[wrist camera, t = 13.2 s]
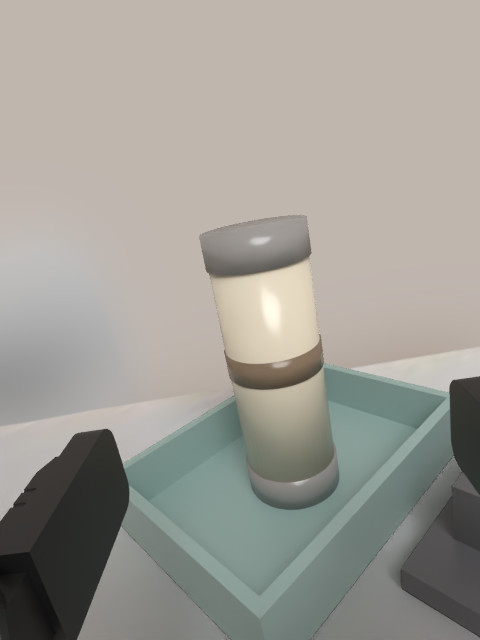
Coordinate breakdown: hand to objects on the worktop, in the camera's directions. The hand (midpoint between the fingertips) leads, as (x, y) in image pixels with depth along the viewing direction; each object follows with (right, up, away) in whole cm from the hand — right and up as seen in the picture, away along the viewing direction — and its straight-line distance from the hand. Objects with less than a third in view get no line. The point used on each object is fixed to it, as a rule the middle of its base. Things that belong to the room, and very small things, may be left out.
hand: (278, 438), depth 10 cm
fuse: (+2, -5, +12) cm, 13 cm away
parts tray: (+2, -6, +12) cm, 14 cm away
